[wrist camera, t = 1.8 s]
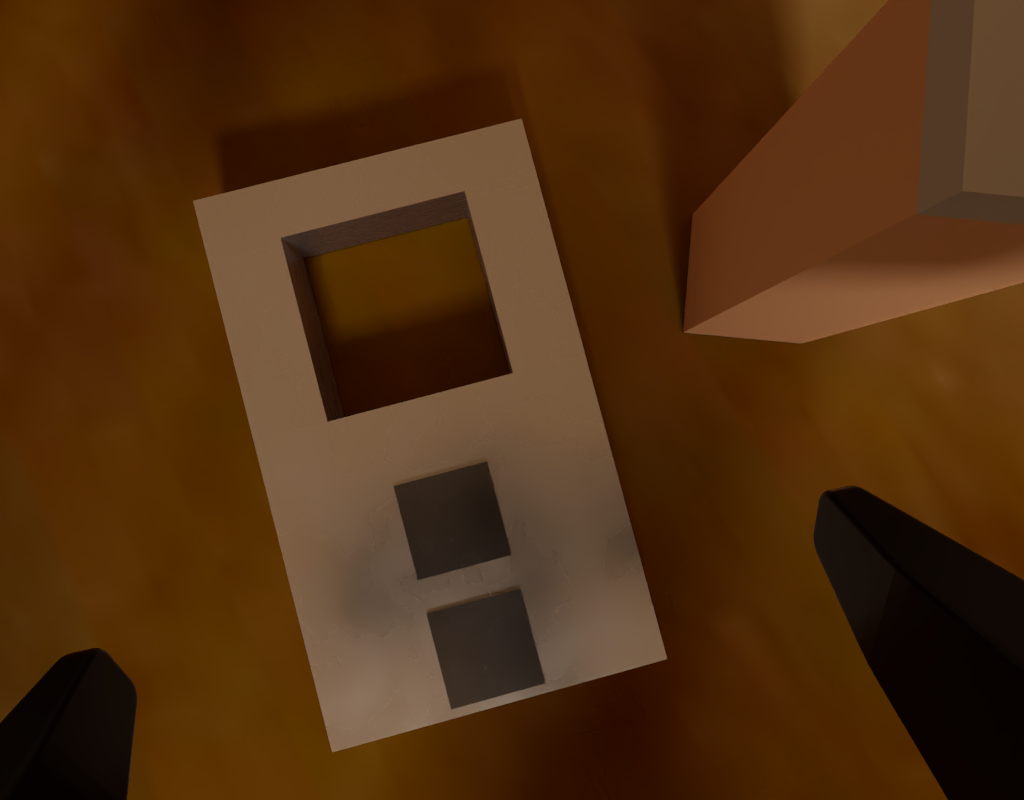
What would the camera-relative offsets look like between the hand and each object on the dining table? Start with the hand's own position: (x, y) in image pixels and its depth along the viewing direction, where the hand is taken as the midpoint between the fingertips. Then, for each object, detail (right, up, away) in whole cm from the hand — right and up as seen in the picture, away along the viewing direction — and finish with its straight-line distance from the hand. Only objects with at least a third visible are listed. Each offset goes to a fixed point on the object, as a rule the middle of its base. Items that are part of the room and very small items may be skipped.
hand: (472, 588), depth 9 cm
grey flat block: (-2, +1, +14) cm, 14 cm away
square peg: (+8, +6, +15) cm, 18 cm away
